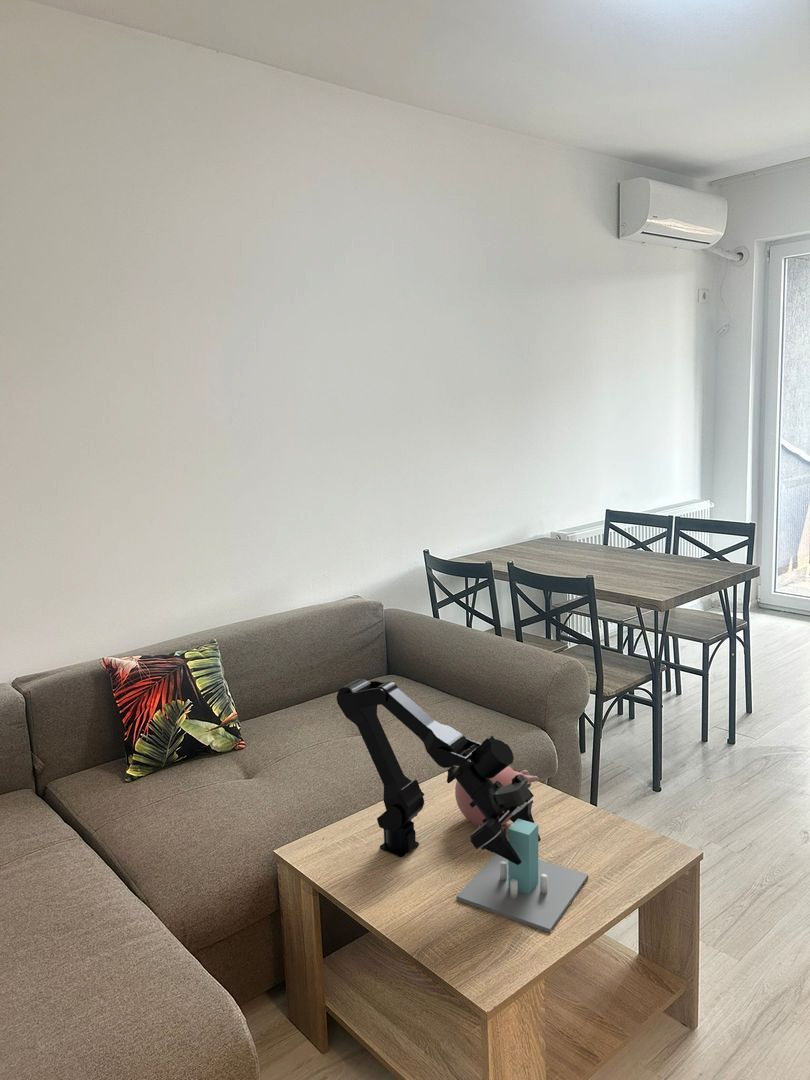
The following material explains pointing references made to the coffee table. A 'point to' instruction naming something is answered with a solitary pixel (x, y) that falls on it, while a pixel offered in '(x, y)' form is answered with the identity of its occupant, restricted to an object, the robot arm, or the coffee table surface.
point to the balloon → (502, 777)
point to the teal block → (524, 854)
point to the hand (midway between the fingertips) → (529, 852)
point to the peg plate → (528, 909)
